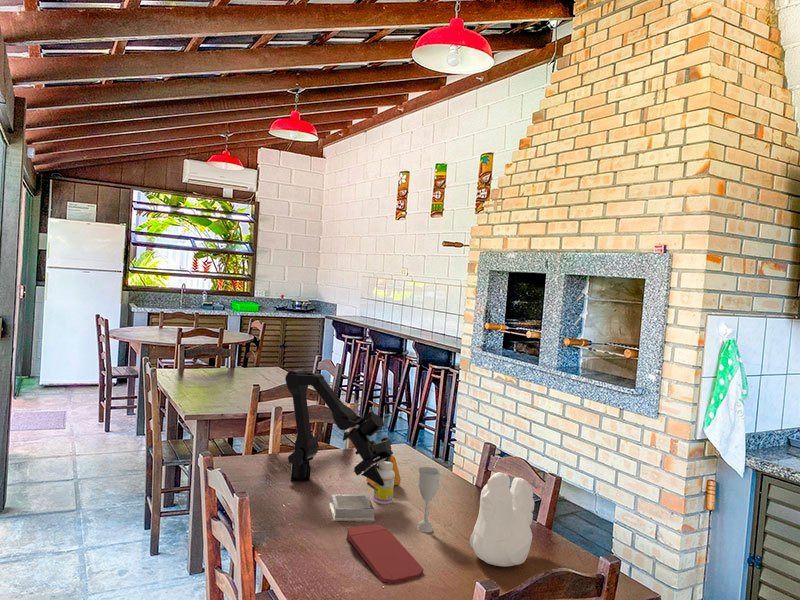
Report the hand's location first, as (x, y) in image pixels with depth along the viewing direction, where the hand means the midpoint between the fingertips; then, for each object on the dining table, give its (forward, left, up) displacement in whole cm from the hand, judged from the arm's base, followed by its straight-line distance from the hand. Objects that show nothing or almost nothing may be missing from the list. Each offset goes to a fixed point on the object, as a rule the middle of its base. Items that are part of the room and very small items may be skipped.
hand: (388, 482), depth 196 cm
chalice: (+8, -21, -7) cm, 24 cm away
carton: (-9, -39, -7) cm, 40 cm away
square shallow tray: (-13, -9, -7) cm, 17 cm away
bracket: (+2, +17, -7) cm, 18 cm away
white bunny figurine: (+27, -40, -7) cm, 49 cm away
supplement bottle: (-1, +1, -7) cm, 7 cm away
